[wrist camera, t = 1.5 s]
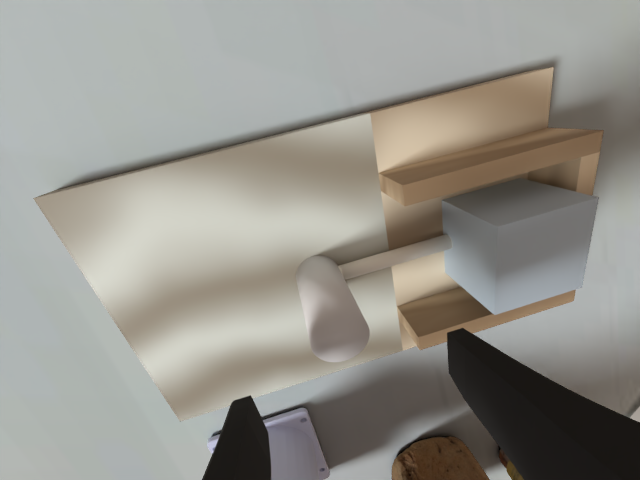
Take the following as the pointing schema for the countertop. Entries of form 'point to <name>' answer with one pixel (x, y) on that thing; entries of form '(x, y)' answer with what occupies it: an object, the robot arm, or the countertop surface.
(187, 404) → the shelf lane
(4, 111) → the countertop surface
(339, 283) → the block
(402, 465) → the block
